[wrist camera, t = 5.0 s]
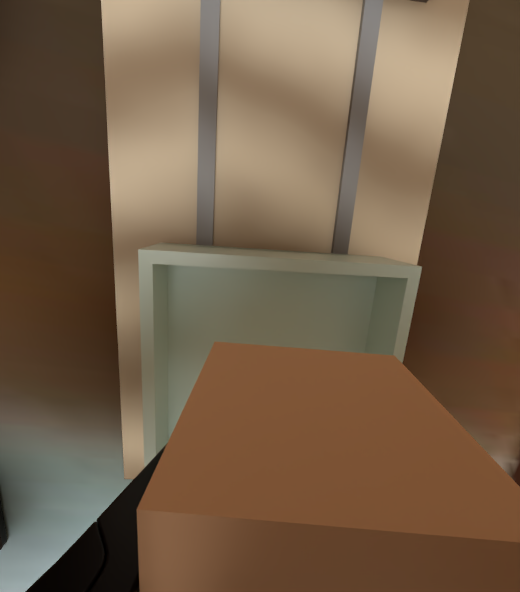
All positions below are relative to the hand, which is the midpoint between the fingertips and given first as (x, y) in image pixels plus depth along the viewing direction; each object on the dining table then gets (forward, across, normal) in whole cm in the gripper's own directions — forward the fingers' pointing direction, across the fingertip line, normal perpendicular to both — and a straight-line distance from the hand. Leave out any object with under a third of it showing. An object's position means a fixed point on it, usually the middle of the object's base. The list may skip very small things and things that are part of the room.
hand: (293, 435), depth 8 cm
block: (0, 0, 0) cm, 0 cm away
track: (+9, 0, -4) cm, 10 cm away
